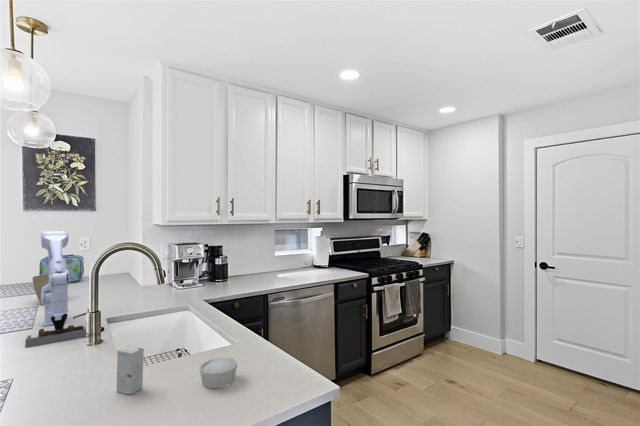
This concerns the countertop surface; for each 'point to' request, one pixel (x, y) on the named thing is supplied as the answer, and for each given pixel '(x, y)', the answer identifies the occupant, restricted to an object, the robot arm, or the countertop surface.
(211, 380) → the ramekin
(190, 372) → the countertop surface
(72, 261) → the lunch box
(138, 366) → the skincare box
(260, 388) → the countertop surface
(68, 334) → the bracket
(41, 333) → the bolt
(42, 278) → the plant pot
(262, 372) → the countertop surface
